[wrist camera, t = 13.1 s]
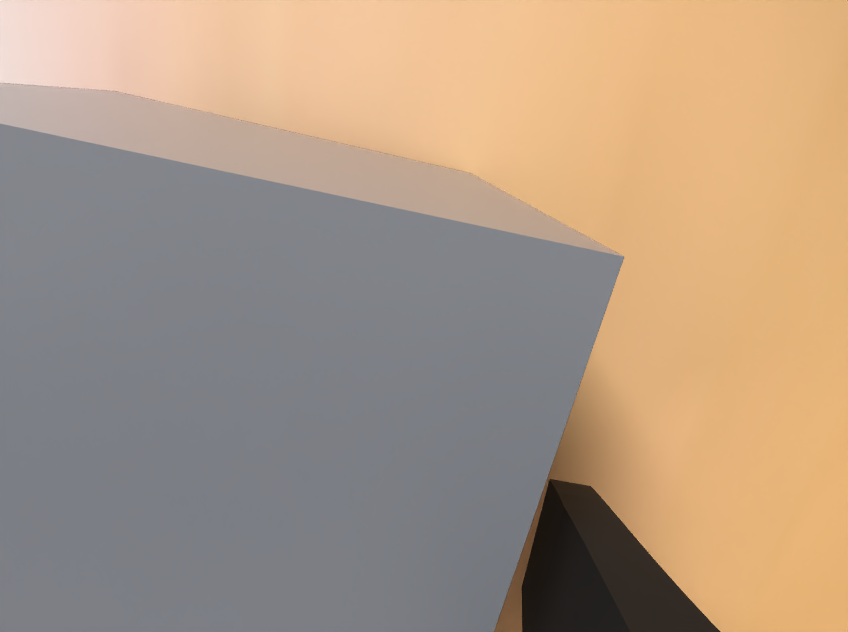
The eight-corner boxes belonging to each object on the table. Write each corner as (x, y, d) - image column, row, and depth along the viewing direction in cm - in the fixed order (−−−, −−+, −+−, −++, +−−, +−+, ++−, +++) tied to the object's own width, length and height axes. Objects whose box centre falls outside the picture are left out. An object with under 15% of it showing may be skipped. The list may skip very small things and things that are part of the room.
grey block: (354, 639, 14) (356, 1024, 8) (85, 620, 12) (-140, 1054, 7) (470, 172, 10) (623, 256, 4) (115, 90, 9) (-289, 62, 3)
